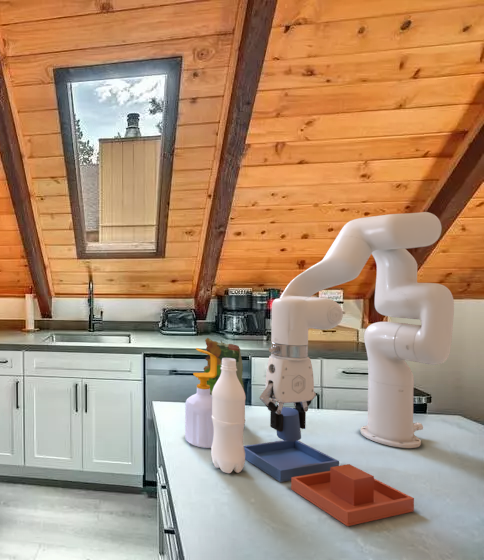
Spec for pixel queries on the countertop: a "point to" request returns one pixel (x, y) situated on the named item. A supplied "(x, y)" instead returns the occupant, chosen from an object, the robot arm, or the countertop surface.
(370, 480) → the block
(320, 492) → the terracotta tray
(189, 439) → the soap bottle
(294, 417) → the blue cylinder
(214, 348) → the pouch
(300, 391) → the robot arm
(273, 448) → the blue tray
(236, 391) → the water bottle
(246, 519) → the countertop surface
